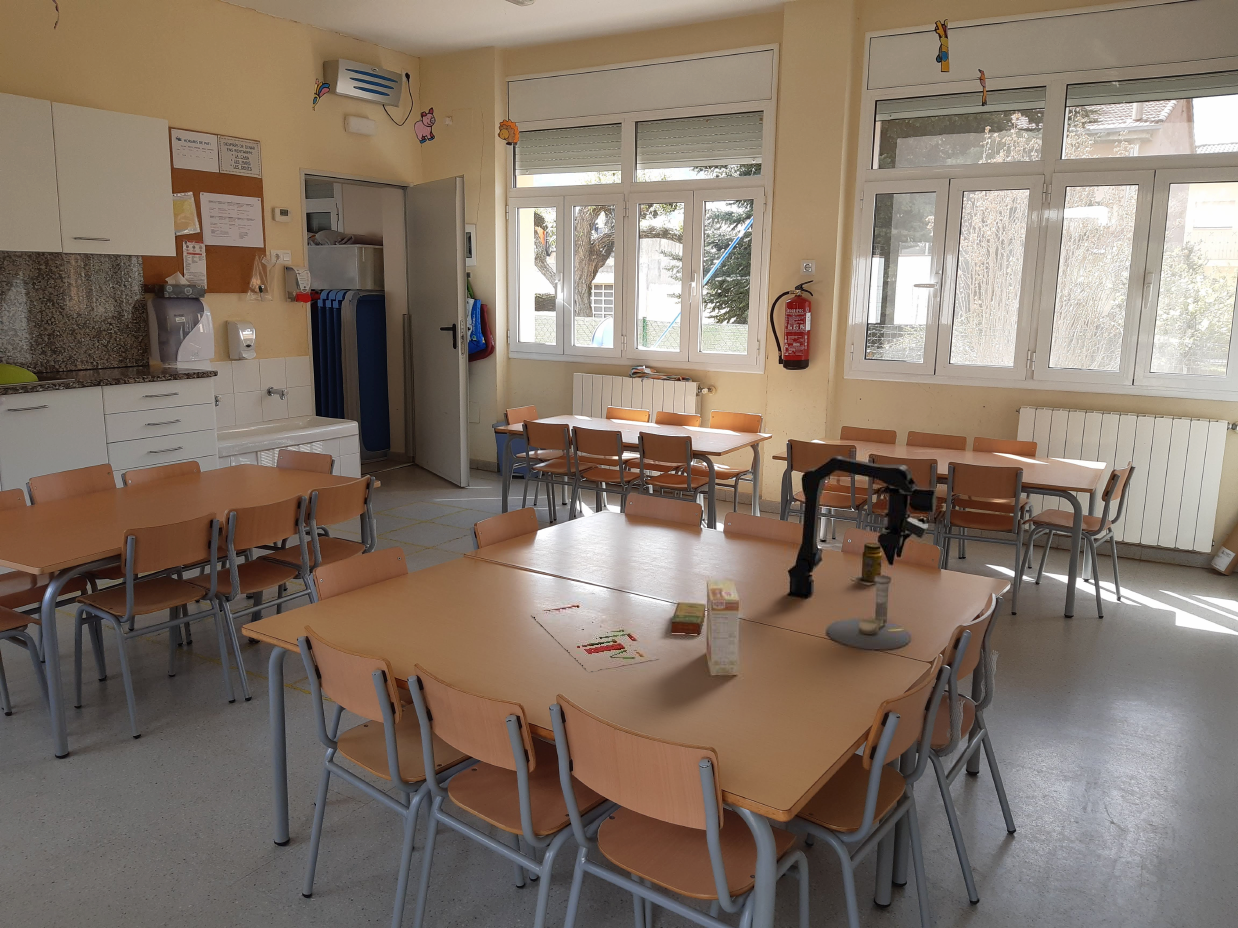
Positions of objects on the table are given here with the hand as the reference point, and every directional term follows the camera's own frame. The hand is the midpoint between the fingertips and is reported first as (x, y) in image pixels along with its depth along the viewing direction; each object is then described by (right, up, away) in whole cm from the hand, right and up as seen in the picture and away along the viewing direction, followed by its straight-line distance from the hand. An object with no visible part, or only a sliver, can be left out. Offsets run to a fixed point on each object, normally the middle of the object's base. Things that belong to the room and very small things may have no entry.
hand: (895, 560), depth 260 cm
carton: (-61, -18, -9) cm, 64 cm away
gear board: (-89, -19, -17) cm, 92 cm away
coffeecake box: (-55, -22, -37) cm, 70 cm away
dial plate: (-13, -18, -18) cm, 28 cm away
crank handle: (-10, -17, -15) cm, 25 cm away
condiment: (+1, -10, +30) cm, 31 cm away
